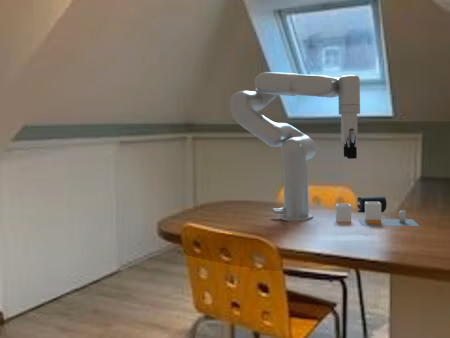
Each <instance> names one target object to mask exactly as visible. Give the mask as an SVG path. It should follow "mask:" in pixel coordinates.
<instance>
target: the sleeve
mask: <svg viewBox="0 0 450 338" xmlns="http://www.w3.org/2000/svg"><path fill="white" fill-rule="evenodd" d="M335 221H336V223H339V224H340V223H347V224H348V223H349V224H350V223H352V205H351V203H336V204H335Z"/></svg>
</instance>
